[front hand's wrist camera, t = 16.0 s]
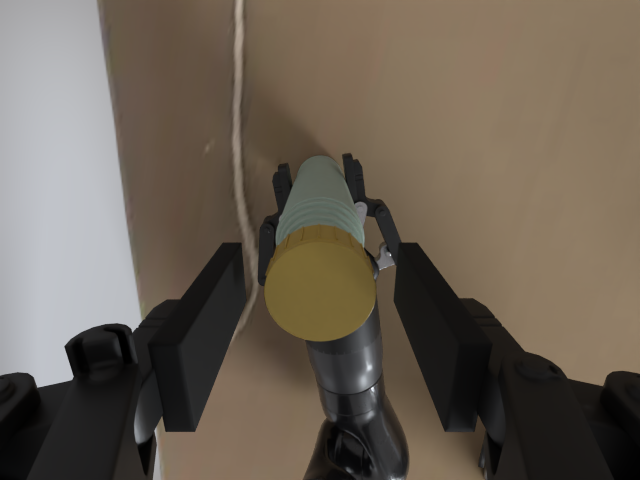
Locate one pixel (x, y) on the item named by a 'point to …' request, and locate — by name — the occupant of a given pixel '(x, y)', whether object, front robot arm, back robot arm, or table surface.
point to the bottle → (320, 200)
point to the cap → (320, 283)
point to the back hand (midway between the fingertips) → (314, 160)
